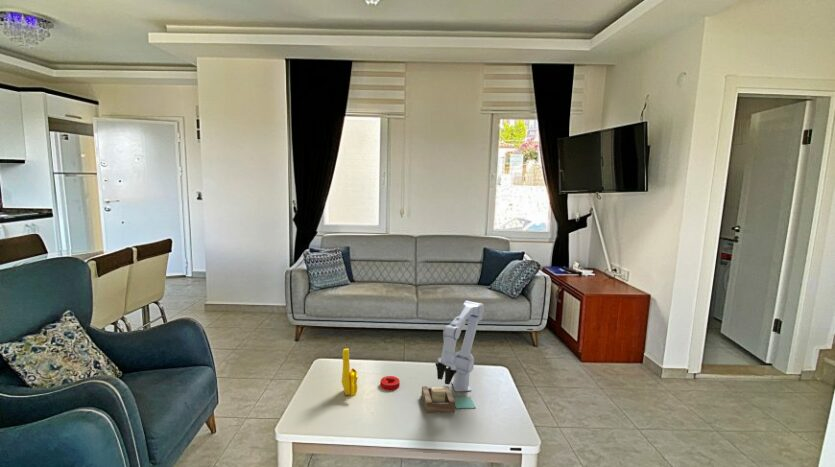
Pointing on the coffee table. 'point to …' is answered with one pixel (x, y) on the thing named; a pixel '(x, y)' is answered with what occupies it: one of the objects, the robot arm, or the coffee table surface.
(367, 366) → the coffee table surface
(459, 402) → the teal mat
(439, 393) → the maple block
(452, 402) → the slotted box
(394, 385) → the decorative ornament
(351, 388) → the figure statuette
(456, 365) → the robot arm
